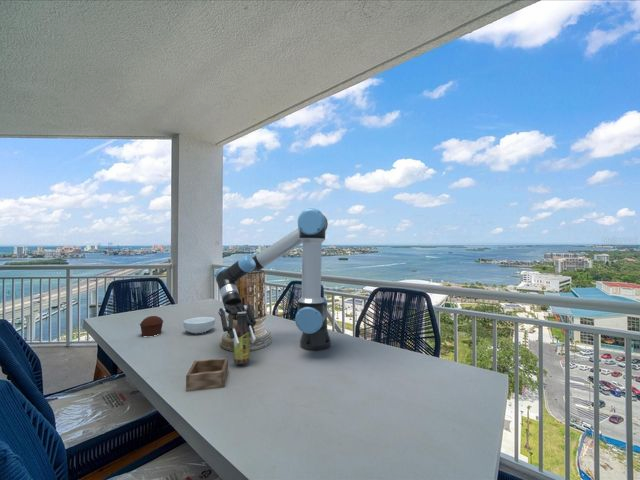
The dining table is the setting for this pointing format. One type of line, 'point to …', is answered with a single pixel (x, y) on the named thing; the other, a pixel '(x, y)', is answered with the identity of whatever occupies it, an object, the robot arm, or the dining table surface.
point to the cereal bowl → (199, 324)
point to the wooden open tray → (207, 374)
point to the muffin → (151, 326)
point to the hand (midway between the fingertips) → (245, 342)
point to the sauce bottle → (242, 339)
